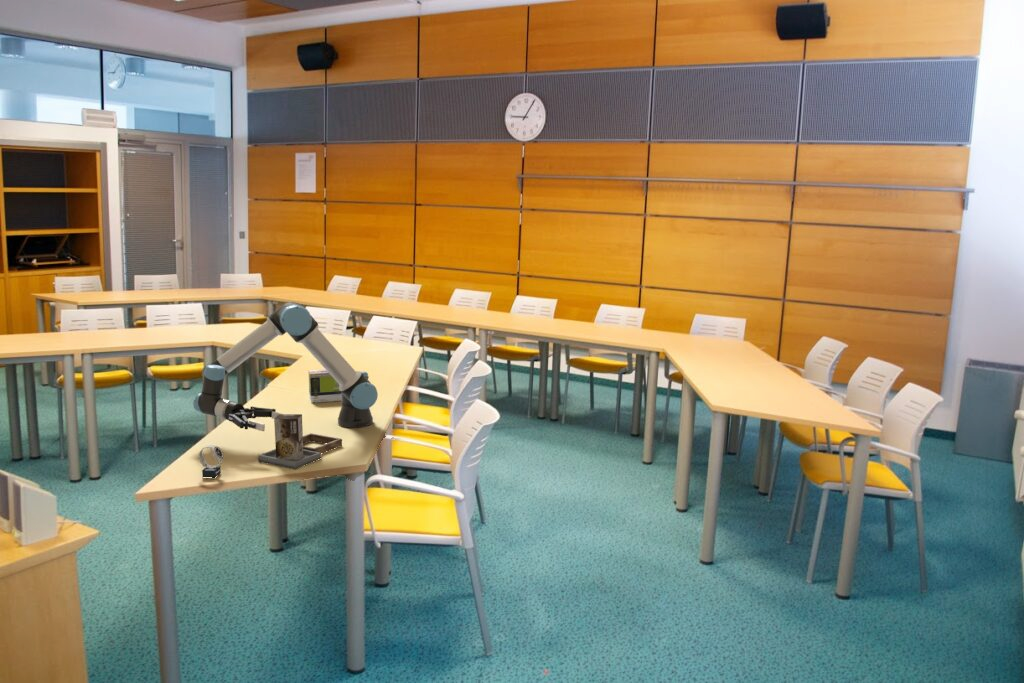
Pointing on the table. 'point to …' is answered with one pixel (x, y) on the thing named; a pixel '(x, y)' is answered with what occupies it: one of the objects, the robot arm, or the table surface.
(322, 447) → the collar
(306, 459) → the tray
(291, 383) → the table surface
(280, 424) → the coffee box
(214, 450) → the watch
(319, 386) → the tea box
